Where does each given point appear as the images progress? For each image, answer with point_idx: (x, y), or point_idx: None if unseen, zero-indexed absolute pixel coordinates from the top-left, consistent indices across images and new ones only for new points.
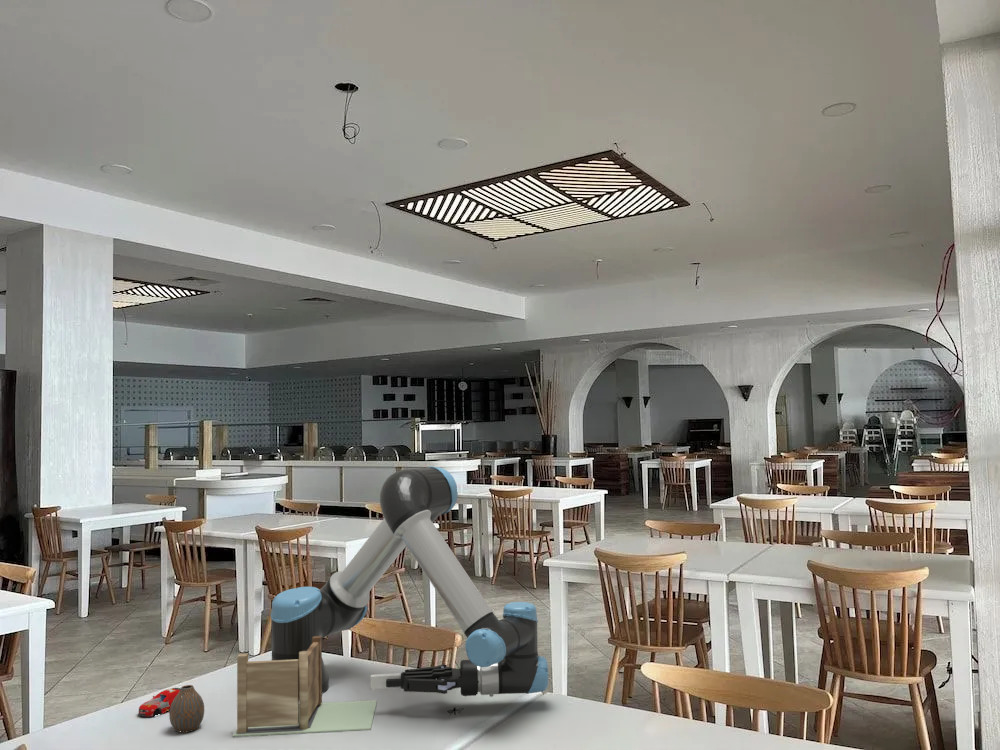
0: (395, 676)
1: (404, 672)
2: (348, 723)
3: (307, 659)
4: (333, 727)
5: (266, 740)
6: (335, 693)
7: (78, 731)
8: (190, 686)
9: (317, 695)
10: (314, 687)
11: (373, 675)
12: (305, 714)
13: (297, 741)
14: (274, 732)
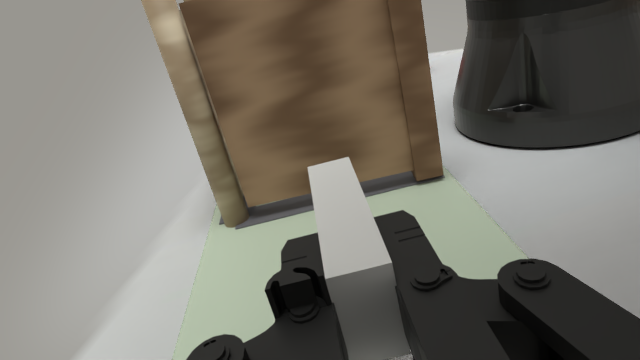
0: (324, 257)
1: (421, 278)
2: (247, 298)
3: (154, 13)
4: (221, 273)
5: (192, 199)
6: (580, 167)
7: None
8: None
9: (385, 148)
10: (329, 119)
11: (329, 167)
12: (211, 187)
13: (156, 243)
14: None
